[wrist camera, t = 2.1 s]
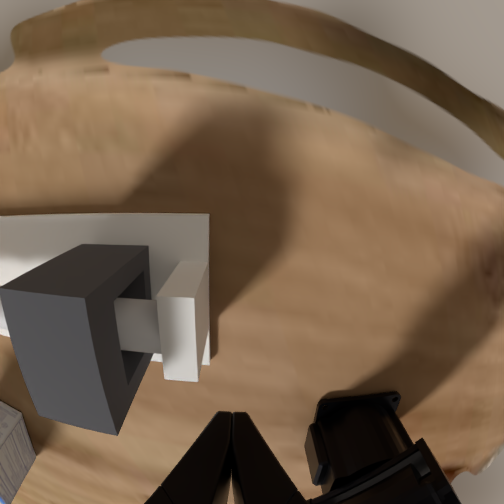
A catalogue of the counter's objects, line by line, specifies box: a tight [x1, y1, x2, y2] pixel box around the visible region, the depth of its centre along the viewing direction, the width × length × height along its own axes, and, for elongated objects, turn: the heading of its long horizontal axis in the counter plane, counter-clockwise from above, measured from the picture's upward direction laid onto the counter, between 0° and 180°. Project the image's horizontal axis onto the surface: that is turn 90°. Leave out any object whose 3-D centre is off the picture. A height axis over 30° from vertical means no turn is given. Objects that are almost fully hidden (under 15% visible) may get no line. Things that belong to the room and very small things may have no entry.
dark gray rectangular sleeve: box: [0, 244, 154, 436], centre depth 13 cm, size 4×6×7 cm, turn 178°
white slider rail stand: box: [0, 213, 211, 382], centre depth 14 cm, size 21×9×6 cm, turn 88°
